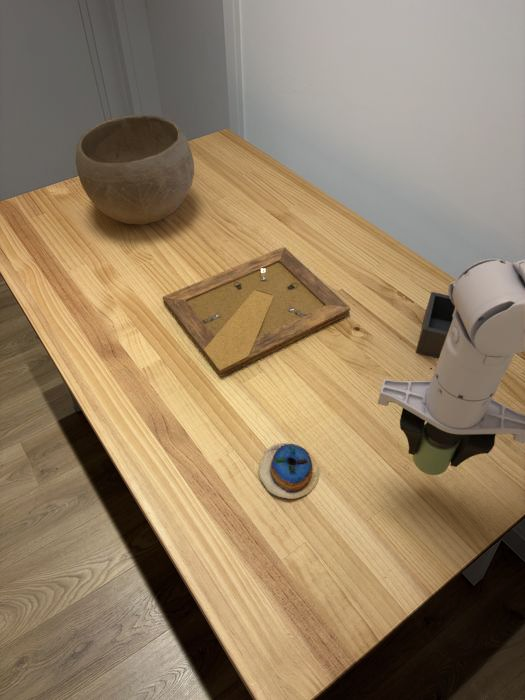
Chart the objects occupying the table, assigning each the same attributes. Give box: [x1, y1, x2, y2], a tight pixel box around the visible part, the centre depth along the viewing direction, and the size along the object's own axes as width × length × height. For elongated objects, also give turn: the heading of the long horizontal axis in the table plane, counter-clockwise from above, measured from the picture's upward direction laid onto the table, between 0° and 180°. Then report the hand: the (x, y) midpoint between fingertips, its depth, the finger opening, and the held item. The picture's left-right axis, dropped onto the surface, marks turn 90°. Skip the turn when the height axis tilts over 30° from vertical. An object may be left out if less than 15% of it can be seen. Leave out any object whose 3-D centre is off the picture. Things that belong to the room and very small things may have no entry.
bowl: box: [75, 114, 195, 226], centre depth 102 cm, size 21×21×15 cm
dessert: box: [258, 442, 320, 500], centre depth 69 cm, size 8×7×6 cm
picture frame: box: [162, 246, 351, 378], centre depth 88 cm, size 19×2×24 cm
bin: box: [415, 291, 455, 359], centre depth 82 cm, size 8×8×5 cm
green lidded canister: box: [412, 421, 461, 476], centre depth 60 cm, size 4×4×6 cm
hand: (433, 453), depth 62 cm, fingers closed on green lidded canister, 4 cm apart
